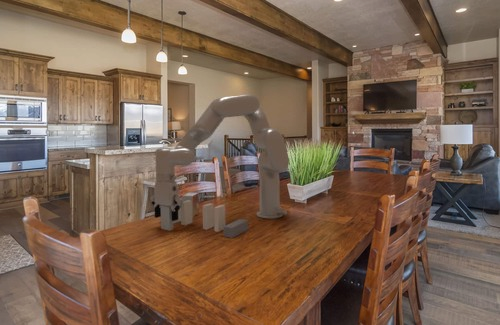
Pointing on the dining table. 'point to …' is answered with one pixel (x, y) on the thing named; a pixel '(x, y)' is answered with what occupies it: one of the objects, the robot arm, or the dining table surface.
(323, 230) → the dining table surface
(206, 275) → the dining table surface
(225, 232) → the end block
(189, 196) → the small box
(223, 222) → the tile
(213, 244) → the dining table surface
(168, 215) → the tile
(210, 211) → the tile
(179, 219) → the end tile
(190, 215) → the tile
